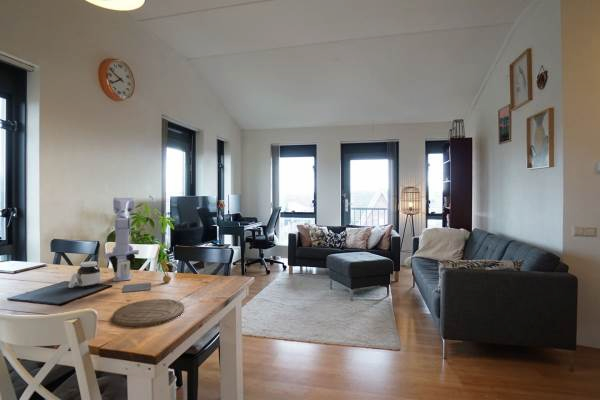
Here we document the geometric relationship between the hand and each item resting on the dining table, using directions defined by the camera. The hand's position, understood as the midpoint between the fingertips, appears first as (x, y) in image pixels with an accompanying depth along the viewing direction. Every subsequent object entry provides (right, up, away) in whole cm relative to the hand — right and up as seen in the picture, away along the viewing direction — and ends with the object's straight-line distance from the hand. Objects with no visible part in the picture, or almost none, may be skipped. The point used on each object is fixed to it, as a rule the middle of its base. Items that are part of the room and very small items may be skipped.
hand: (121, 270), depth 151 cm
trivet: (+27, -11, -29) cm, 41 cm away
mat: (+6, -9, +3) cm, 11 cm away
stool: (0, -2, 0) cm, 2 cm away
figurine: (+15, -9, +14) cm, 23 cm away
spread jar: (-20, -9, +3) cm, 22 cm away
